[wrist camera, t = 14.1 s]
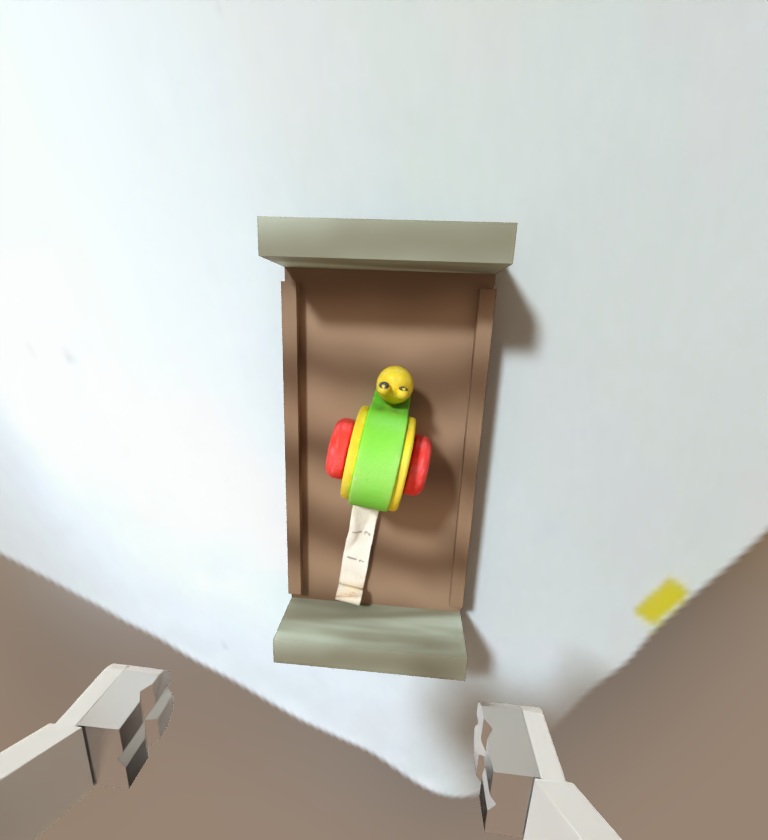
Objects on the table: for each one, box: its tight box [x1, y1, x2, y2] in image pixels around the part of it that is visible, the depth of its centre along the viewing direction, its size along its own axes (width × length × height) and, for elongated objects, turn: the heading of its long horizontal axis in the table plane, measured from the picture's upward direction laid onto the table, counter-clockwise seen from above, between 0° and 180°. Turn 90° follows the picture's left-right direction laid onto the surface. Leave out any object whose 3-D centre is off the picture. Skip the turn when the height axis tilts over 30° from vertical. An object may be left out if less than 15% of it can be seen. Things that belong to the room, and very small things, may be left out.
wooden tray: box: [257, 216, 518, 681], centre depth 27 cm, size 30×14×6 cm, turn 178°
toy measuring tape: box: [326, 366, 432, 606], centre depth 26 cm, size 6×19×7 cm, turn 167°
